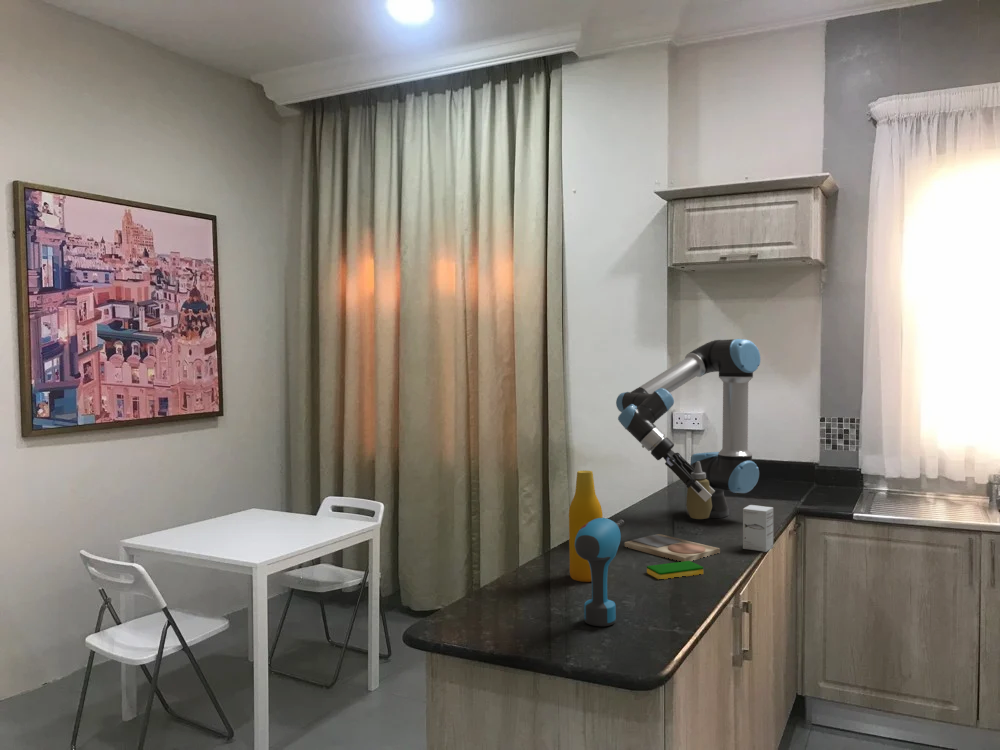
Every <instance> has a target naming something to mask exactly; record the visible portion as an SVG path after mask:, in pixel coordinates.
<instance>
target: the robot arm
mask: <svg viewBox="0 0 1000 750" xmlns="http://www.w3.org/2000/svg"><path fill="white" fill-rule="evenodd" d="M760 365H761V354H760V350H759V348H758V346H757V345H756V344H755V343H754V342H753V341H752V340H749V339H743V338H742V339H741V338H735V339H733V338H732V339H714V340H711V341H708V342H706V343H704V344H702V345H701V346H699V347H696V348H695V349H694V350H692V351H690V352H688V353H687V354H686V355H685V356H684V359H682V360H681V361H679V362H677V363H676V364H674V365H672V366H671V367H669V368H668V369H666V370H664V371H663V372H661V373H659V374H658V375H656V376H655V377H653V378H651V379H650V380H648V381H647V382H645V383H644V384H642V385H640V386H639V387H637V388H635V389H633V390H631V391H626V392H621V393H619V394H618V396H617V398H616V400H615V401H616V402H615V405H616V408H617V410H618V412H620V413H619V415H618V418H617V420H618V422H619V423H620V425H621V426H623V428H624V430H627V432H628V433H630V434H631V436H632V437H634V438H635V440H637V442H638V443H640V444H641V447H642V448H643V449H644V448H645V450H647V451H648V452H650V454H651V455H652V456H653V457H654V458H655V460H657V461H660V460H662V458H663V459H664V461H665V463H664V464H665V466H666V467H668V468H669V469H670V470H671V471H672V473H673V474H675V475H676V476H677V477H678V478H679V479H680V481H681V482H682V483H683V484H684V485H685V486H686V488H687V489H688V488H689V487H691V488H692V489H693V490H694V491H695V492H696V493H697V494H698V495H699V496H700V497H701V498H702V499H703V500H704V501H705V502H706V501H707V500H708V499H709V498H710V497H711V501H712V509H711V512H710V515H709V518H708V519H719V518H721V519H722V518H726V517H729V515H730V514H729V513H730V508H729V507H728V503H727V499H726V497H725V493H724V492H725V491H728V492H731V493H734V494H735V493H736V494H737V493H738V494H747V493H749V492H751V491H752V490H753V489H754V487H755V486H756V485H757V484H758V481H759V478H760V470H759V467H758V465H757V463H755V461H753V454H752V453H751V452H750V451H749V449H748V446H749V444H748V443H749V442H748V441H749V440H748V439H749V437H748V435H749V433H748V432H749V382H750V381H751V380H752V379H753V378H754V372H756V371H757V370H758V368H759V366H760ZM715 372H717V373H718V378H719V380H721V382H722V449H721V450H719V451H711V452H697V453H694V454H692V455H691V459H690V463H689V462H688V461H687V460H685V458H684V457H683V456H682V455H681V454H680V452H674V451H673V450H672V449H673V447H674V446H675V444H674V443H673V442H672V441H671V439H670V438H668V437H665V436H666V434H664V432H662V430H661V429H660V428H659V427H657V426H656V425H655V424H654V423H656V422H657V421H658V420H659V419H660V418H661V417H662V416H663V415H665V414H666V413H667V412H669V410H670V409H671V408H672V407H673V406H674V404H675V399H674V397H673V395H672V394H671V393H672V392H674V391H676V390H677V389H678V388H679V387H681V386H683V385H684V384H686V383H688V382H690V381H691V380H692V379H695V378H696V377H698V378H700V377H703V376H705V375H707V374H710V373H715ZM696 461H700V464H701V468H702V472H705V473H706V478H705V479H707V480H708V481H709V485H710V493H711V494H710V493H709V492H708V491H707V490H706V489H705V488H704V487H703V486H702V485H701V484H700V483H699V482H698V481H696V482H695V479H693V477H692V476H691V473H692V472H694V470H695V465H696ZM686 514H687V515H688V516H690V515H689V512H688V510H687V509H686Z"/></svg>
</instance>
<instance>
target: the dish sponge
mask: <svg viewBox="0 0 1000 750" xmlns="http://www.w3.org/2000/svg"><path fill="white" fill-rule="evenodd" d="M646 574H647V575H650V576H651V577H654V578H655V579H657V580H659V579H664V580H669V579H668V578H671V579H675V578H674V577H679V578H683V577H682V576H686V577H693V575H694V576H700V575H699V574H701V575H704V566H703V565H700V564H698V563H695V562H693V561H683V562H679V561H676V562H669V563H662V564H661V563H660V564H659V563H658V564H652V565H647V566H646Z"/></svg>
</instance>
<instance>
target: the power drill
mask: <svg viewBox="0 0 1000 750" xmlns="http://www.w3.org/2000/svg"><path fill="white" fill-rule="evenodd" d="M624 525H625V521H624V520H623V519H622V518H620V519H619V520H617V521H616V522H615V521H614V520H611V519H610V518H605V517H603V518H597V519H594V520H592V521H590V522H588V523H587V524H585V525H584V526H583V527H581V529H580V530H579V531H578V533H577V535H576V539H575V549H576V552H577V554H578V555H579V556H580V557H581V558H583V559H585V560H588V562H589V565H590V569H591V578H592V582H591V599H587V600H586V601H585V602H584V604H583V606H584V607H583V610H584V611H583V612H584V614H583V618H584V622H585V623H586V624H588V625H590V626H593V627H610V626H612V625H614V624H615V623H616V620H617V618H616V617H617V615H616V614H617V613H616V608H617V607H616V603H615V601H614V600H611V599H608V572H609V571H608V570H609V567H610V564H611V562H612V561H613V560H614V559H615V558H616V555H617V553H618V549H619V546H620V544H621V538H622V536H621V535H622V534H621V530H620V528H621V527H623V526H624Z"/></svg>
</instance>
